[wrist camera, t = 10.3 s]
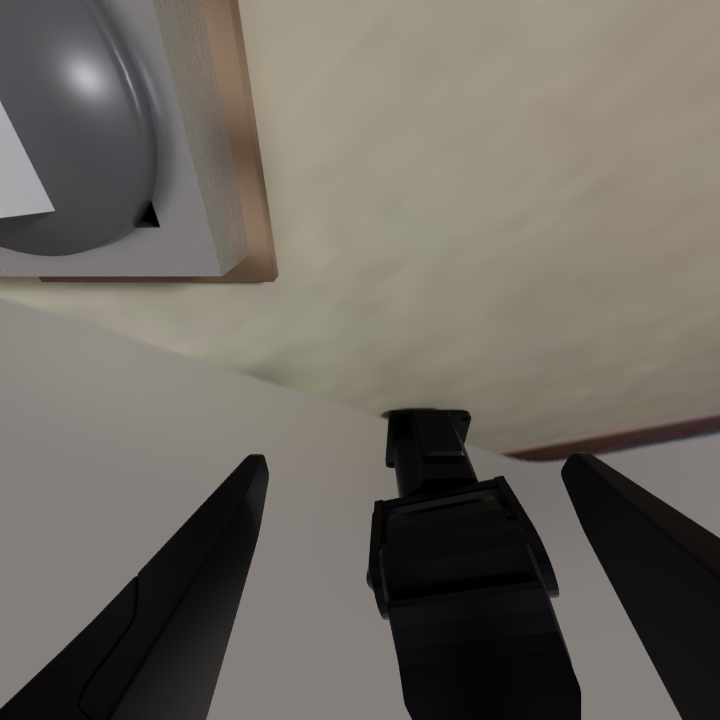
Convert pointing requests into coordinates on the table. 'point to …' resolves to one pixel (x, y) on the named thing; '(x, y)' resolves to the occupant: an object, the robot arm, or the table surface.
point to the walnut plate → (244, 150)
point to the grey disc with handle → (70, 130)
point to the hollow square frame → (168, 158)
